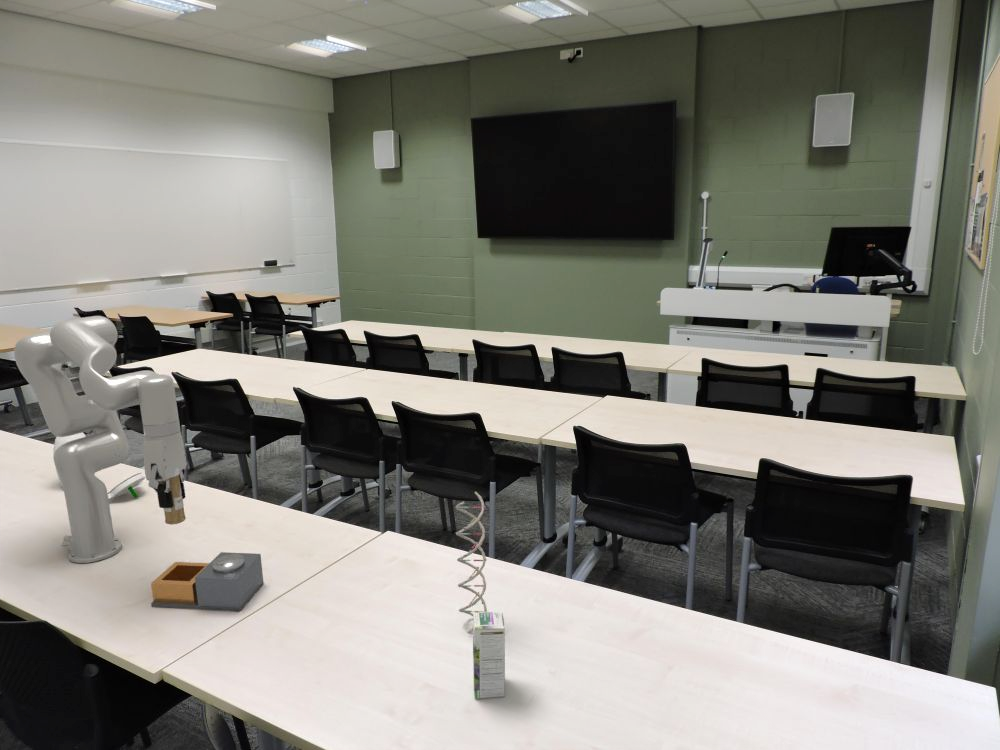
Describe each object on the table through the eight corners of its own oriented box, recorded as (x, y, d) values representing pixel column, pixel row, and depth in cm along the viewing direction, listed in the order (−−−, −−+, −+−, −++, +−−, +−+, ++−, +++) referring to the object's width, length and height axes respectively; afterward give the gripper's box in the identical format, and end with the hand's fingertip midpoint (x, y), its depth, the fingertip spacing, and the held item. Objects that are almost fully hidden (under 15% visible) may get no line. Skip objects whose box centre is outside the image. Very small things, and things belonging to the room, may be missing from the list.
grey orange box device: (151, 607, 160) (146, 571, 158) (186, 574, 175) (182, 541, 173) (240, 611, 158) (236, 575, 156) (268, 577, 173) (265, 544, 170)
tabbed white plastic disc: (132, 484, 232) (143, 459, 228) (151, 498, 231) (162, 473, 227) (95, 502, 218) (106, 475, 214) (114, 517, 217) (126, 490, 213)
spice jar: (187, 521, 165) (180, 468, 162) (166, 527, 162) (158, 472, 159) (183, 515, 168) (176, 462, 165) (163, 520, 166) (155, 467, 163)
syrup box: (473, 679, 134) (471, 611, 130) (503, 677, 134) (502, 610, 131) (474, 699, 128) (472, 629, 125) (506, 697, 129) (505, 627, 125)
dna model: (481, 636, 147) (478, 504, 140) (453, 631, 149) (449, 500, 142) (492, 619, 153) (490, 492, 146) (465, 614, 155) (462, 488, 148)
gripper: (166, 418, 169) (177, 489, 173) (123, 440, 152) (136, 517, 156) (196, 418, 168) (205, 489, 172) (156, 440, 152) (167, 518, 156)
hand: (172, 502), depth 164 cm, fingers closed on spice jar, 4 cm apart
